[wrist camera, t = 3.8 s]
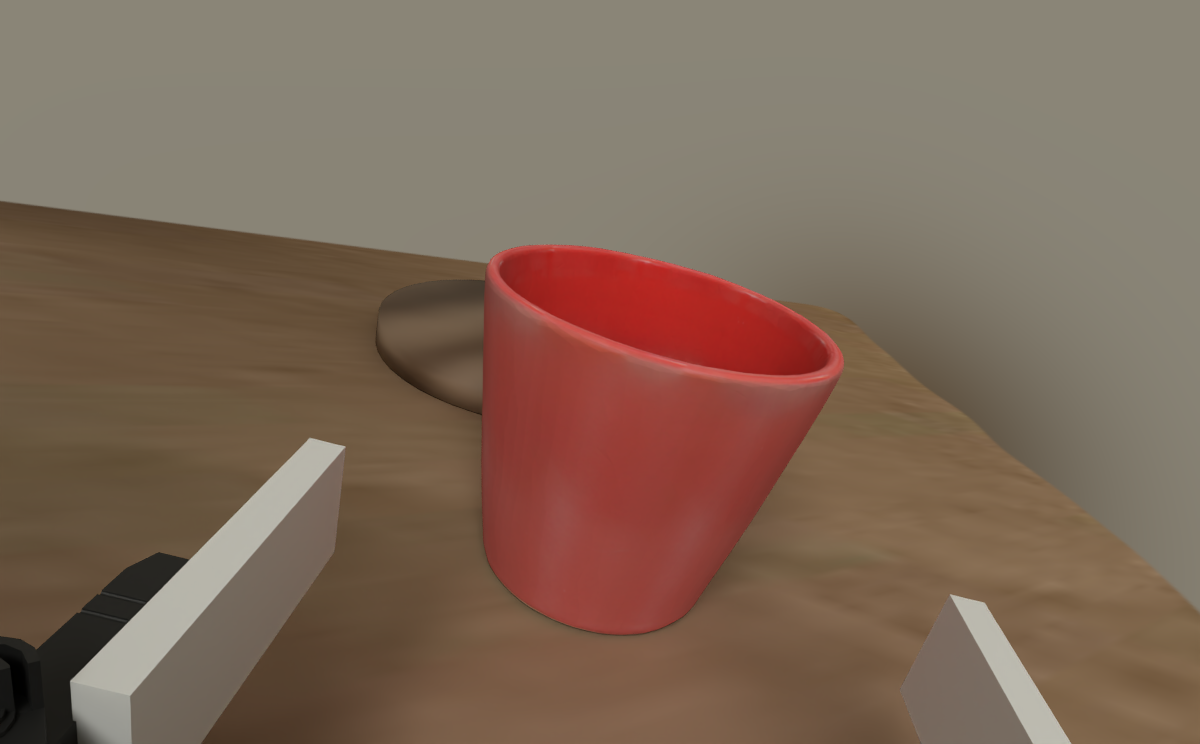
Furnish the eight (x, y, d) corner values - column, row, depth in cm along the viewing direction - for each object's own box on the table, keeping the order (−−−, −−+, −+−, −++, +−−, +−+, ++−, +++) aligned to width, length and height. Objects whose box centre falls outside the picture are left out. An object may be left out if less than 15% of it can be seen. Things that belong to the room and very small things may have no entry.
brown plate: (306, 337, 36) (308, 309, 35) (488, 286, 50) (492, 266, 49) (584, 467, 31) (592, 436, 30) (702, 370, 44) (709, 348, 44)
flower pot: (624, 456, 32) (682, 247, 29) (807, 626, 25) (919, 369, 21) (393, 489, 26) (429, 229, 22) (538, 730, 18) (631, 390, 15)
